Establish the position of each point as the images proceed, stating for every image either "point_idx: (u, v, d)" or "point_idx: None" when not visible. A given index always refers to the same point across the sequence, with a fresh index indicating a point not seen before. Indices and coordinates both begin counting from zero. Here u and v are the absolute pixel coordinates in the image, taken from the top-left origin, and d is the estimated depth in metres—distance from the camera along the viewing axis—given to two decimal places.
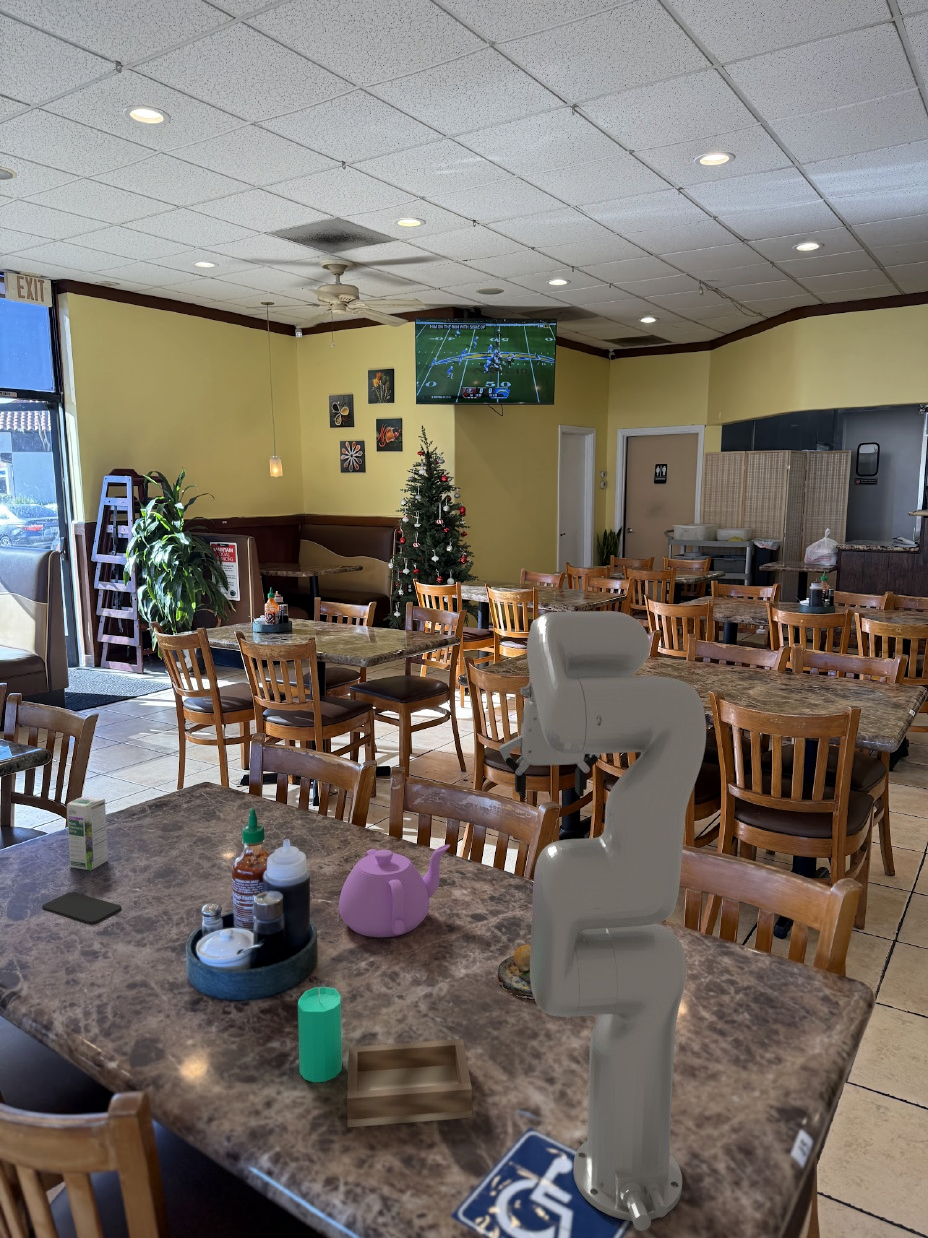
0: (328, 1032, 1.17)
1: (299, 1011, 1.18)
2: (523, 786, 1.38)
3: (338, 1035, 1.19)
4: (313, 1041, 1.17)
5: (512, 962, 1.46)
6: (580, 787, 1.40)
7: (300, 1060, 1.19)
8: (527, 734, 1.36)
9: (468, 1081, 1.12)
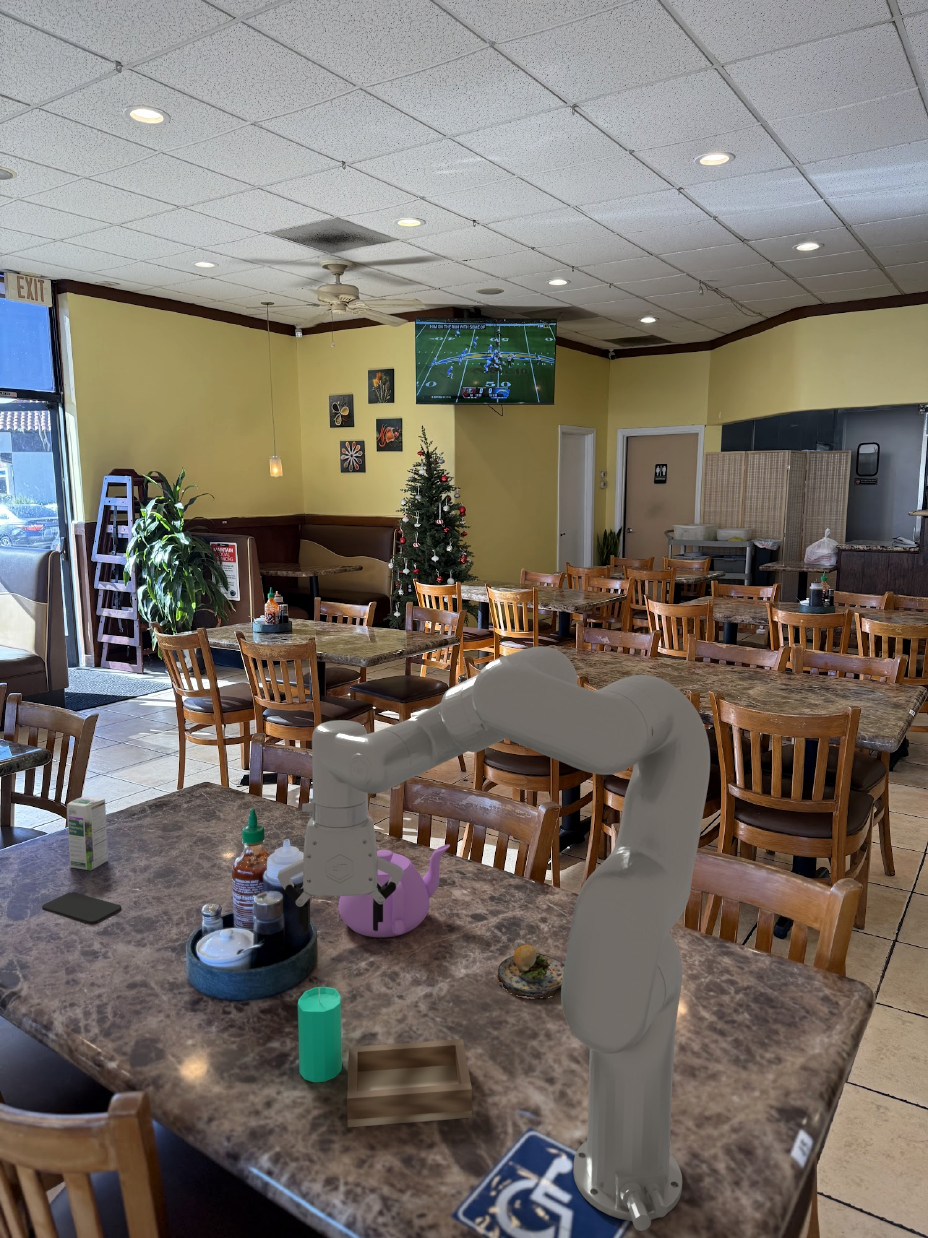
0: (328, 1032, 1.17)
1: (299, 1011, 1.18)
2: (305, 919, 1.18)
3: (338, 1035, 1.19)
4: (313, 1041, 1.17)
5: (512, 962, 1.46)
6: (374, 920, 1.19)
7: (300, 1060, 1.19)
8: (306, 861, 1.16)
9: (468, 1081, 1.12)
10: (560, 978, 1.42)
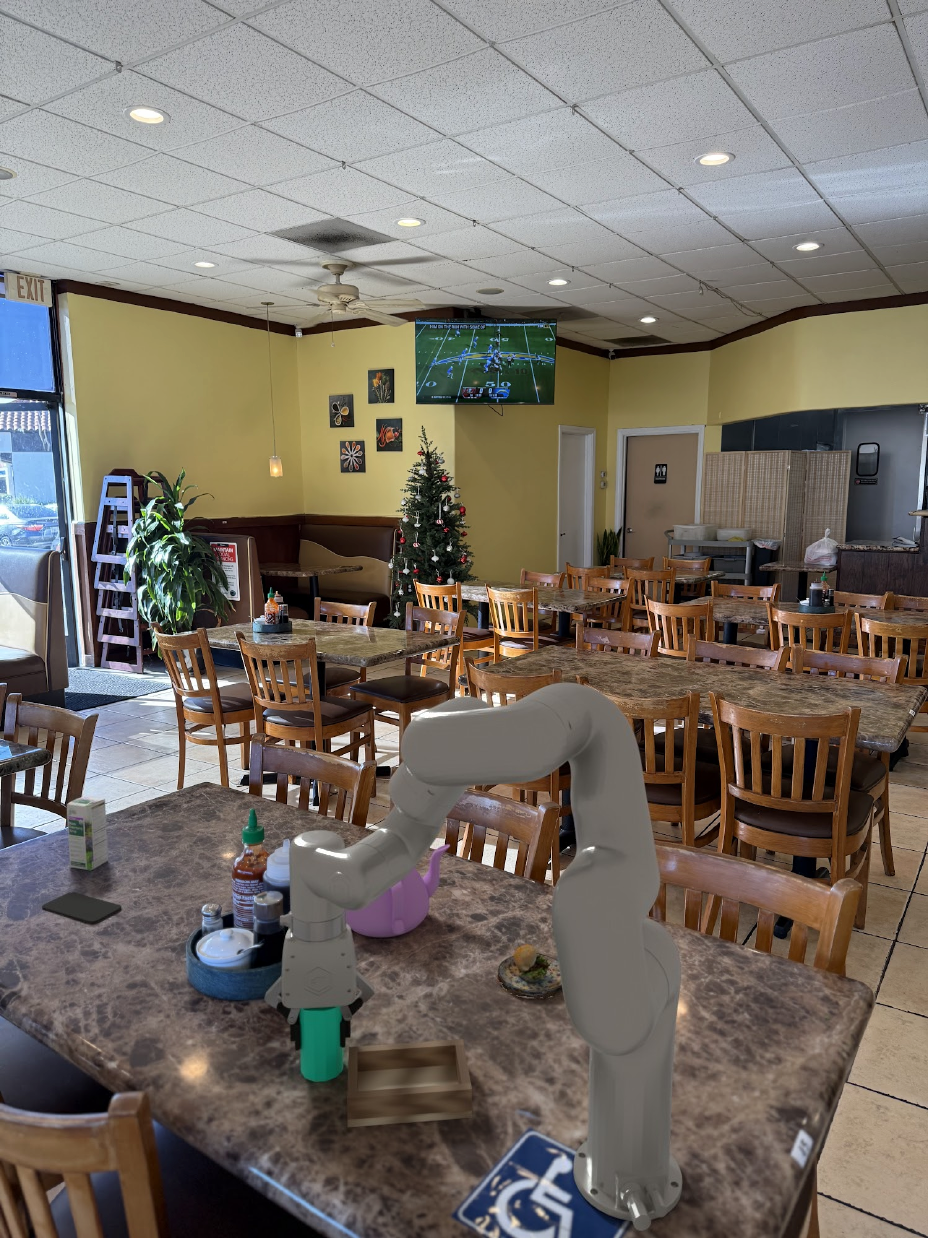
0: (329, 1031, 1.17)
1: (300, 1010, 1.18)
2: (296, 1037, 1.18)
3: None
4: (314, 1040, 1.17)
5: (512, 962, 1.46)
6: (341, 1037, 1.19)
7: (301, 1059, 1.19)
8: (284, 974, 1.15)
9: (468, 1081, 1.12)
10: (560, 979, 1.42)
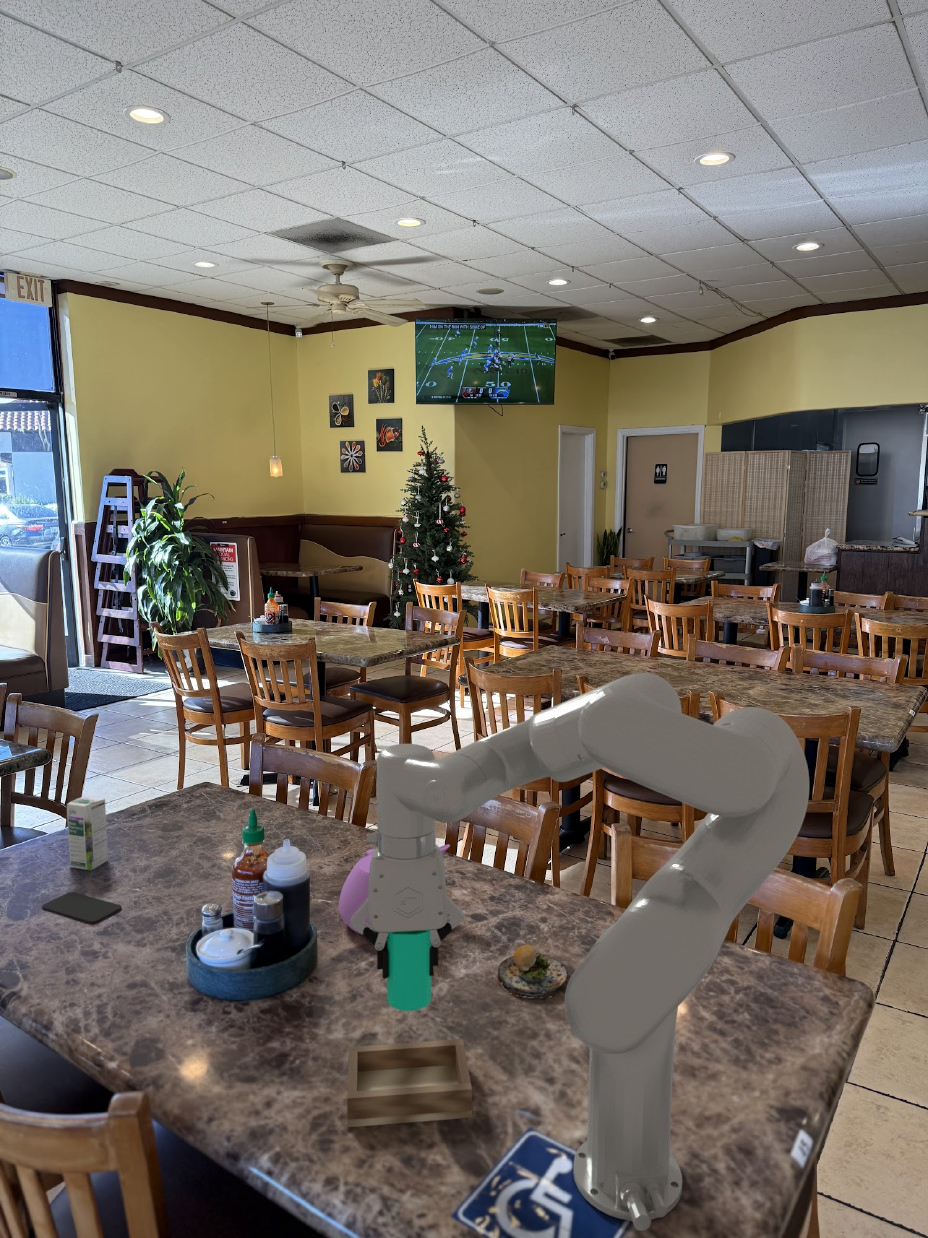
0: (420, 957, 1.10)
1: (389, 935, 1.11)
2: (384, 964, 1.11)
3: (429, 962, 1.11)
4: (404, 966, 1.09)
5: (512, 962, 1.46)
6: None
7: (388, 988, 1.12)
8: (372, 895, 1.08)
9: (468, 1081, 1.12)
10: (560, 979, 1.42)
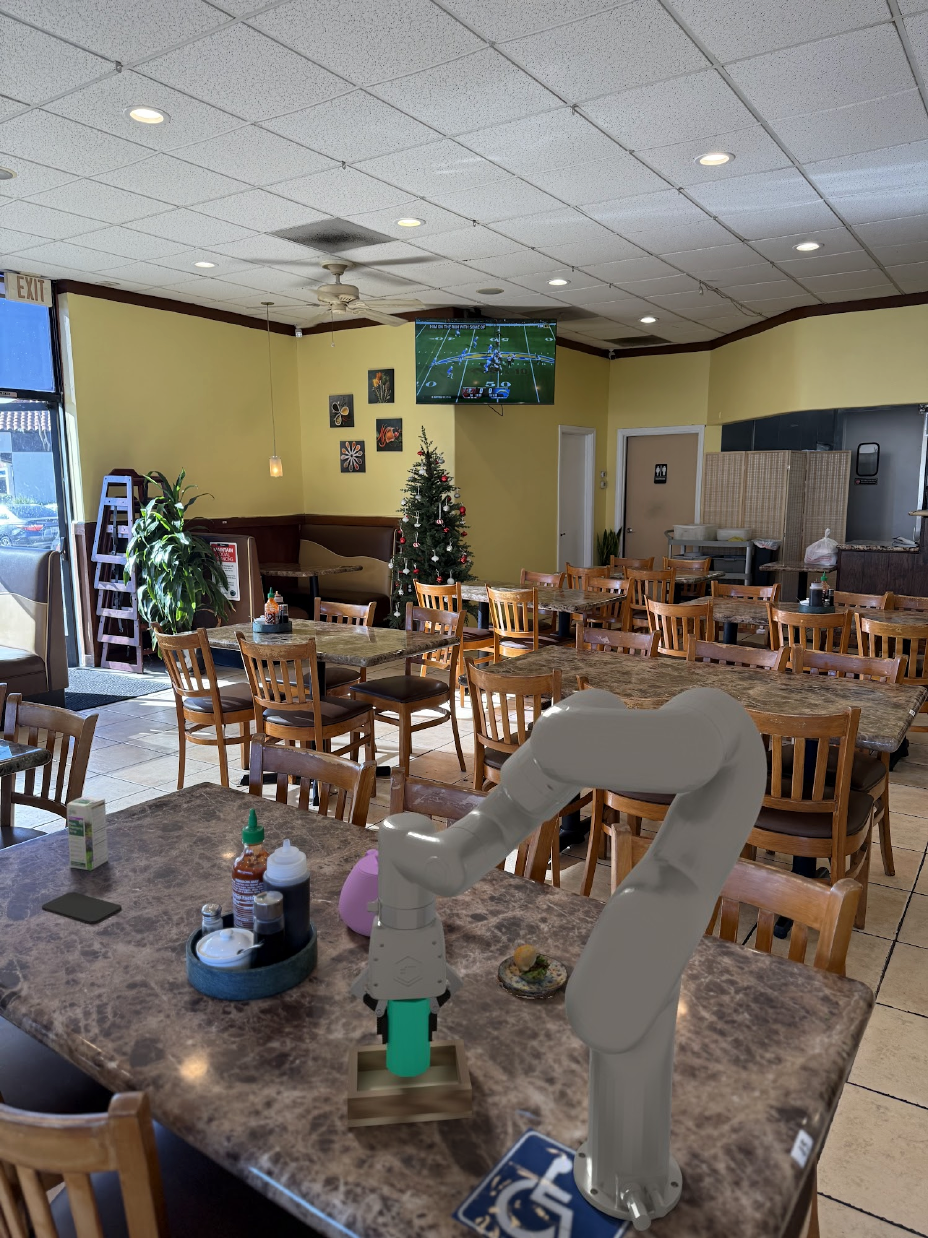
0: (419, 1024, 1.11)
1: (389, 1002, 1.12)
2: (384, 1030, 1.12)
3: (428, 1028, 1.13)
4: (403, 1033, 1.11)
5: (512, 962, 1.46)
6: None
7: (388, 1053, 1.13)
8: (372, 964, 1.10)
9: (468, 1081, 1.12)
10: (560, 979, 1.42)
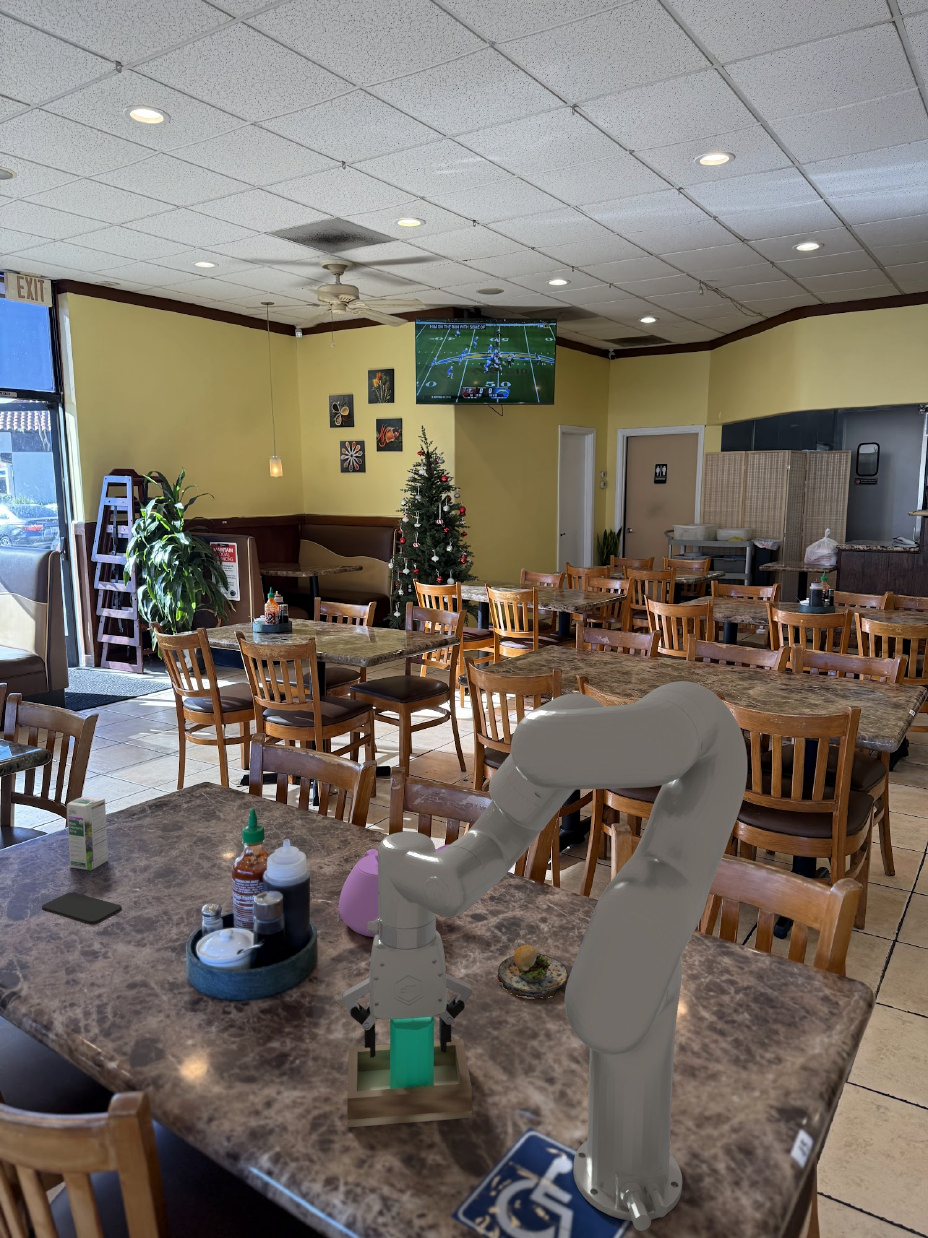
0: (422, 1051, 1.12)
1: (391, 1028, 1.12)
2: (372, 1043, 1.12)
3: (431, 1055, 1.13)
4: (406, 1060, 1.11)
5: (512, 962, 1.46)
6: (442, 1042, 1.13)
7: (391, 1079, 1.13)
8: (373, 983, 1.10)
9: (468, 1081, 1.12)
10: (560, 979, 1.42)
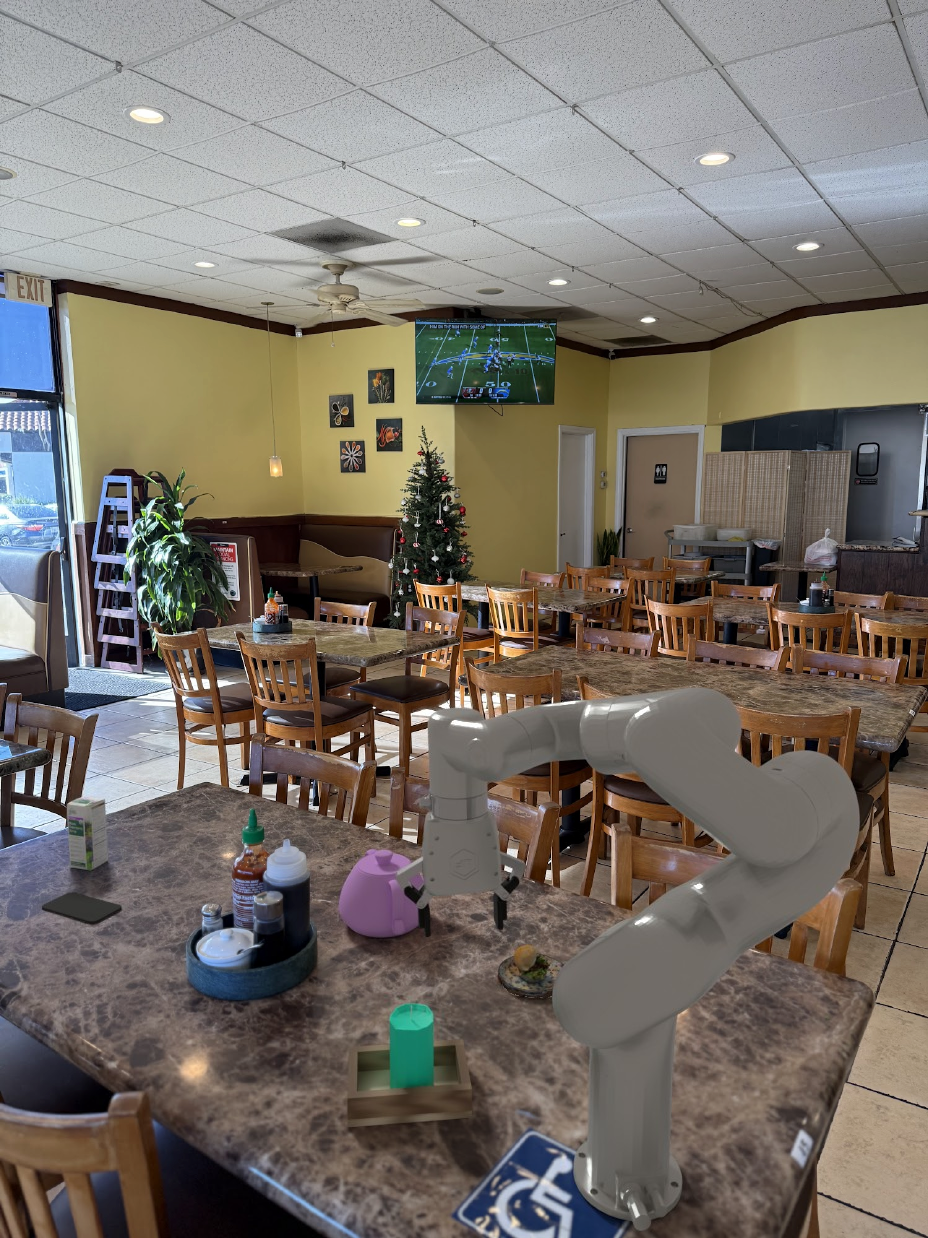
0: (421, 1051, 1.12)
1: (391, 1029, 1.12)
2: (427, 922, 1.11)
3: (431, 1055, 1.13)
4: (406, 1061, 1.11)
5: (512, 962, 1.46)
6: (499, 918, 1.12)
7: (391, 1080, 1.13)
8: (428, 858, 1.09)
9: (468, 1081, 1.12)
10: None
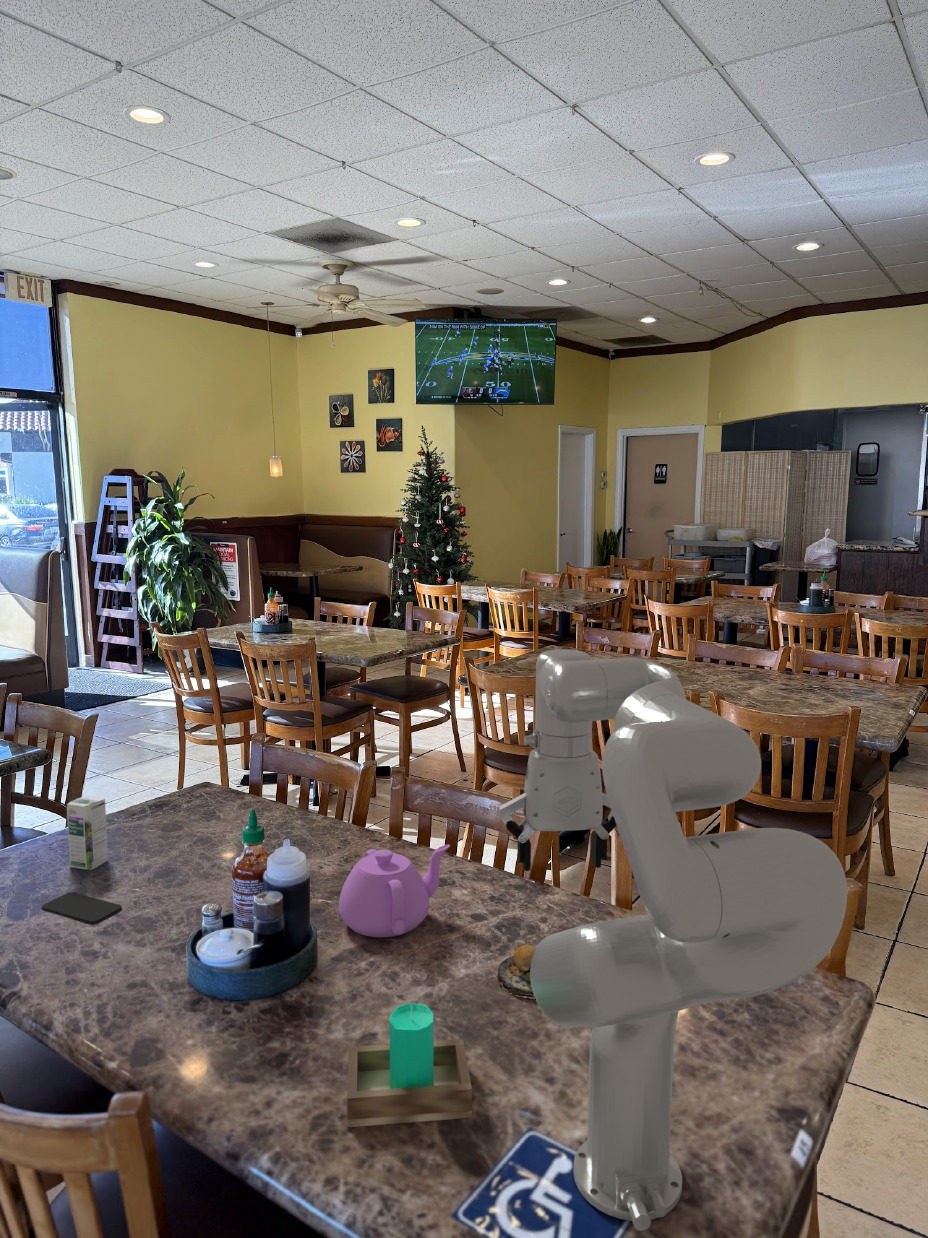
0: (421, 1051, 1.12)
1: (391, 1029, 1.12)
2: (527, 856, 1.13)
3: (431, 1055, 1.13)
4: (406, 1061, 1.11)
5: (512, 962, 1.46)
6: (597, 856, 1.15)
7: (391, 1080, 1.13)
8: (532, 794, 1.11)
9: (468, 1081, 1.12)
10: None
